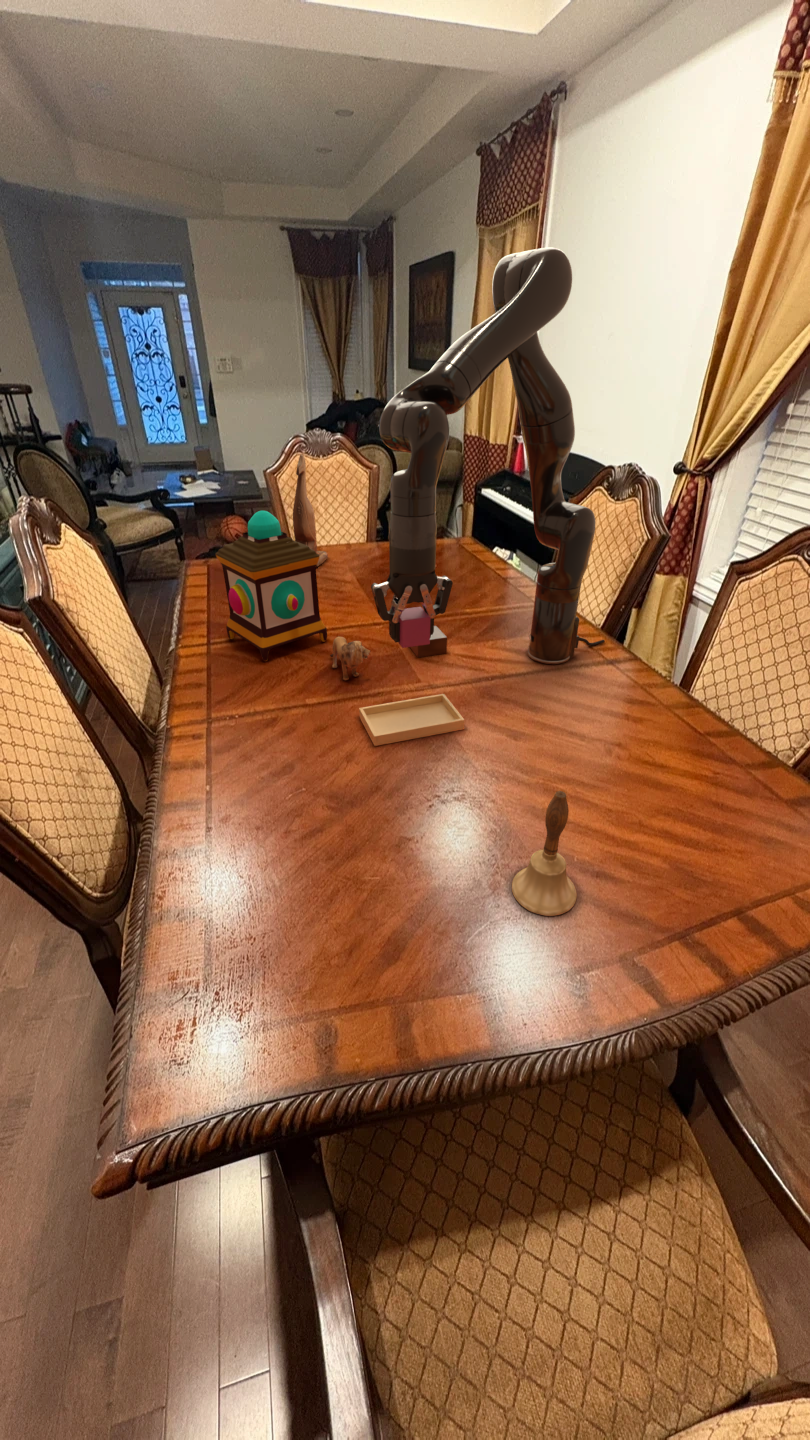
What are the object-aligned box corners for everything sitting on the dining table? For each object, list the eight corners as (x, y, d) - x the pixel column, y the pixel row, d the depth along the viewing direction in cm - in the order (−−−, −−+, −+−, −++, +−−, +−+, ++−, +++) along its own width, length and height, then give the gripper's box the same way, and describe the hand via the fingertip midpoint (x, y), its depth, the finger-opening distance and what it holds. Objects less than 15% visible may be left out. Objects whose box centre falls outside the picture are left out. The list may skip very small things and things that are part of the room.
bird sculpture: (284, 566, 191) (272, 457, 174) (295, 555, 201) (286, 451, 184) (318, 568, 190) (310, 458, 173) (328, 557, 199) (321, 452, 182)
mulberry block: (420, 632, 109) (420, 606, 106) (429, 644, 105) (430, 617, 102) (393, 636, 107) (393, 609, 105) (402, 648, 103) (402, 620, 101)
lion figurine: (373, 681, 127) (372, 642, 123) (351, 688, 125) (349, 648, 120) (340, 655, 138) (338, 618, 133) (319, 661, 135) (316, 623, 130)
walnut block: (435, 641, 144) (436, 625, 142) (446, 653, 139) (447, 637, 137) (407, 645, 142) (407, 629, 140) (417, 657, 137) (418, 641, 135)
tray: (443, 702, 120) (443, 693, 119) (464, 729, 112) (464, 719, 111) (359, 717, 115) (359, 707, 114) (374, 746, 107) (374, 736, 106)
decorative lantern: (261, 667, 133) (242, 528, 117) (219, 638, 145) (196, 509, 129) (336, 641, 144) (327, 511, 128) (291, 617, 157) (278, 495, 141)
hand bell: (505, 869, 82) (516, 775, 74) (564, 865, 83) (583, 772, 74) (520, 918, 75) (535, 821, 67) (585, 914, 76) (608, 817, 67)
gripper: (376, 551, 92) (378, 653, 101) (463, 543, 96) (458, 642, 105) (363, 538, 98) (366, 635, 107) (445, 531, 102) (442, 625, 111)
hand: (411, 638), depth 106 cm, fingers closed on mulberry block, 5 cm apart
